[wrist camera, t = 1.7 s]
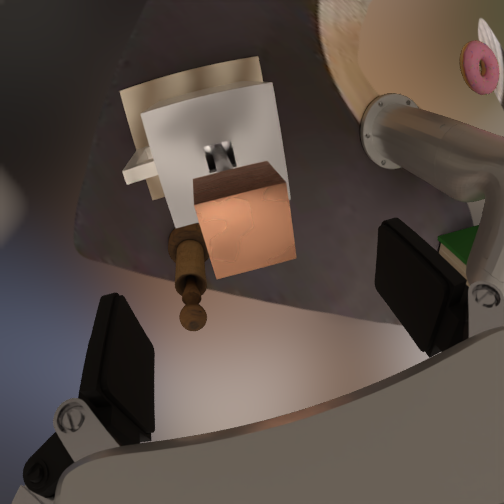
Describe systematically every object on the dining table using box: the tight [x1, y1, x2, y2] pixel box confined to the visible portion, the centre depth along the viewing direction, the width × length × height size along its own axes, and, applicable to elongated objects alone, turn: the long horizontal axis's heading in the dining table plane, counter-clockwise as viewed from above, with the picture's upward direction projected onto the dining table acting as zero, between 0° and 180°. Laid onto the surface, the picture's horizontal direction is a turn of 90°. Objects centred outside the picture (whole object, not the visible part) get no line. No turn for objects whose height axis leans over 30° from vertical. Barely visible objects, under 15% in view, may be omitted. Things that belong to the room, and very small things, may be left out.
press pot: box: [122, 81, 291, 228], centre depth 31 cm, size 15×11×15 cm
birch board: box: [120, 56, 263, 200], centre depth 38 cm, size 18×16×1 cm
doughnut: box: [460, 40, 500, 95], centre depth 36 cm, size 11×11×4 cm
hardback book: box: [438, 225, 479, 287], centre depth 50 cm, size 18×7×24 cm, turn 97°
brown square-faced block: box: [193, 141, 296, 279], centre depth 22 cm, size 8×8×19 cm
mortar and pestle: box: [168, 223, 209, 331], centre depth 39 cm, size 7×6×18 cm
